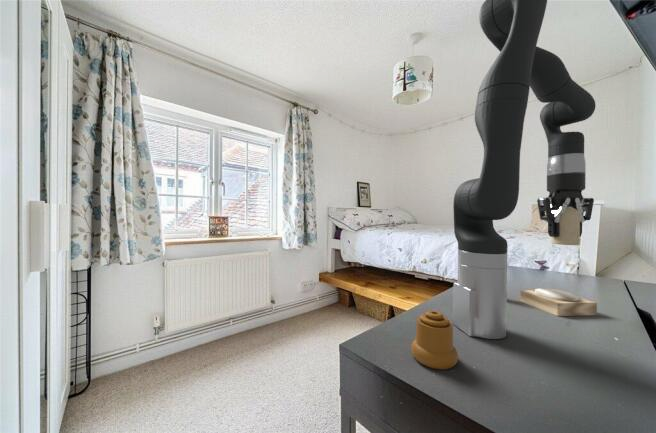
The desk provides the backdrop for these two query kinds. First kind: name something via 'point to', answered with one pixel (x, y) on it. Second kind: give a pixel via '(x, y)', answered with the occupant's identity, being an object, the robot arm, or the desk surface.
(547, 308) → the candle stand
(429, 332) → the ornamental finial
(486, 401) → the desk surface
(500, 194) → the robot arm
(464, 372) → the desk surface
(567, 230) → the candle
